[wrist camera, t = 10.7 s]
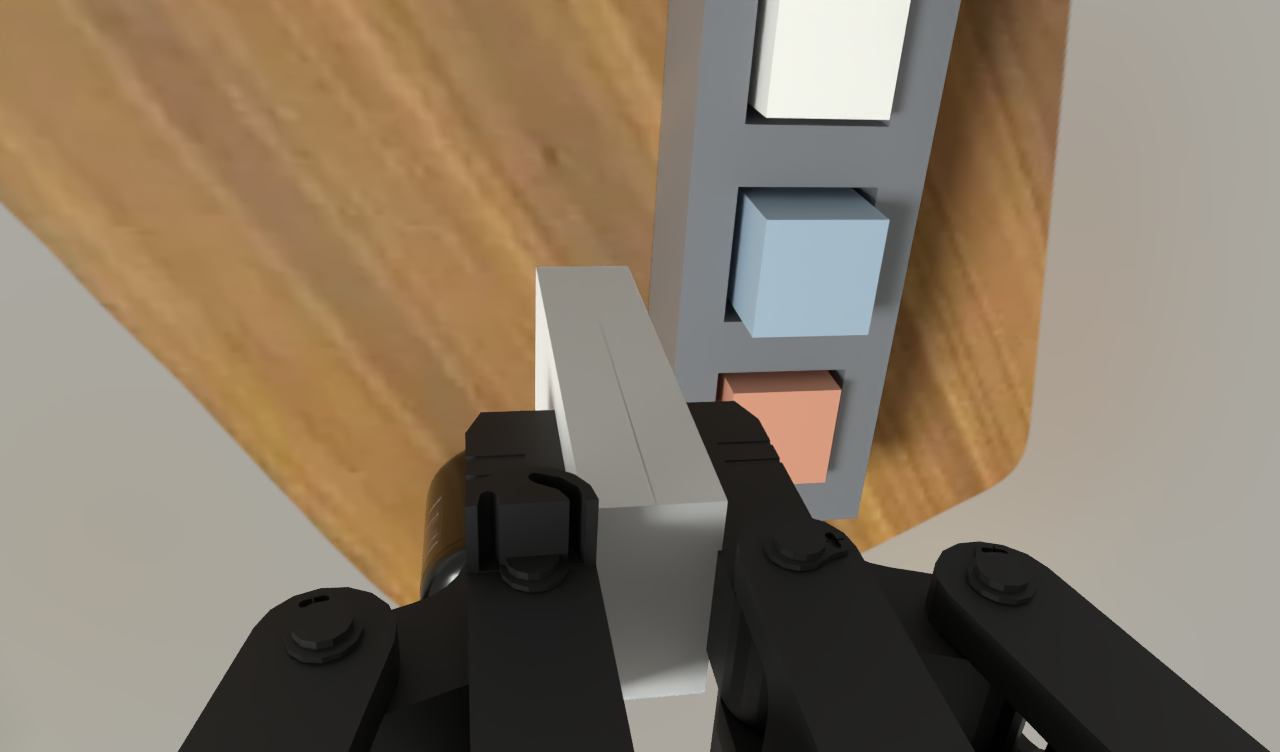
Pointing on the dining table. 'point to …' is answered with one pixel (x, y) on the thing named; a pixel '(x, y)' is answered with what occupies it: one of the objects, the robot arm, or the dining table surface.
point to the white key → (827, 58)
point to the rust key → (790, 415)
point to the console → (782, 157)
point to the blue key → (805, 261)
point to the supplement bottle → (444, 527)
